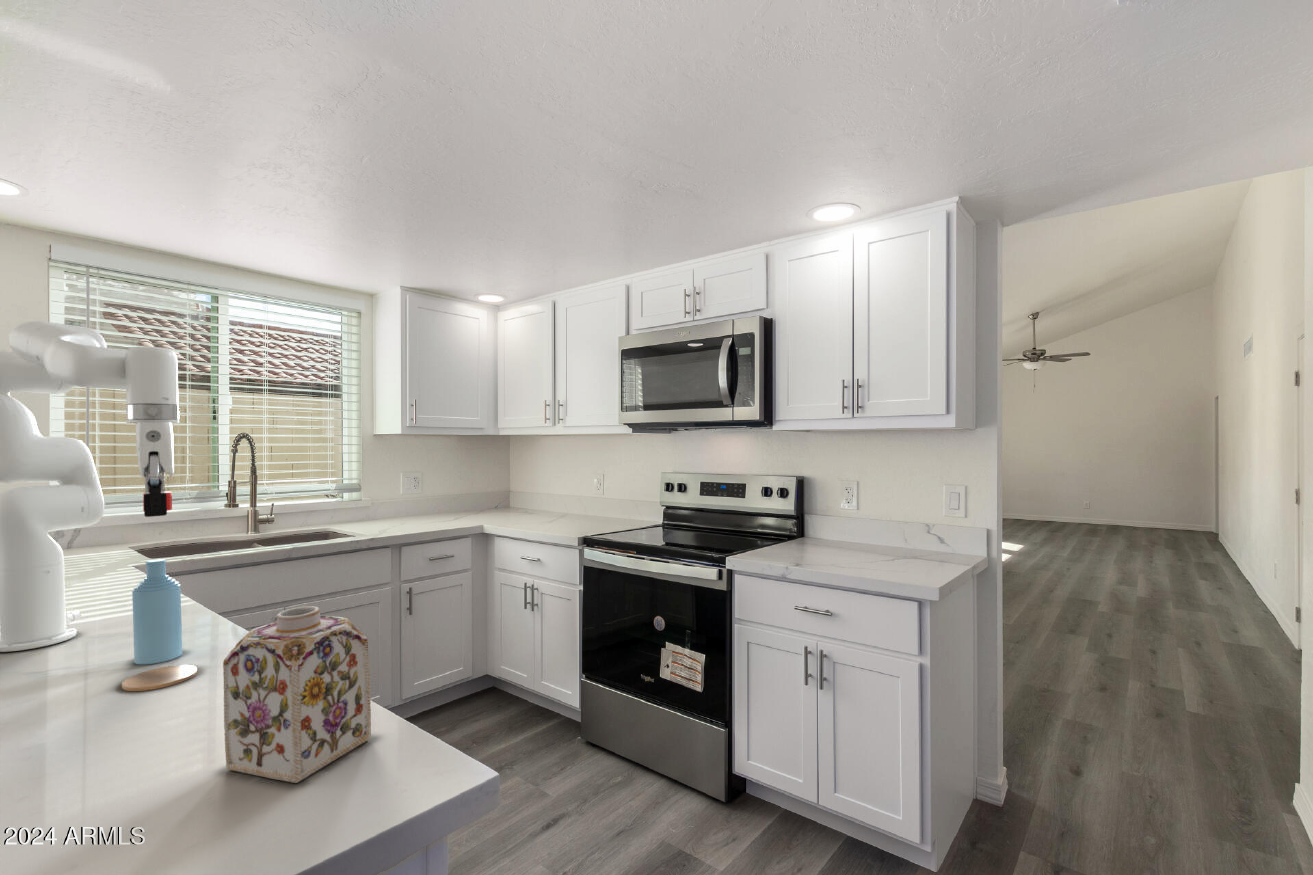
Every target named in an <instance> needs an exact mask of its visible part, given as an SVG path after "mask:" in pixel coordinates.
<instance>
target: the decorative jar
mask: <svg viewBox="0 0 1313 875" xmlns="http://www.w3.org/2000/svg"><path fill="white" fill-rule="evenodd" d="M369 655H370V653H369V640H368V638H367V636H365V635H364V633H363V632H362V631H361V629H358V627H357V626H356V625H355V624H354V623H352V622H351V621H350V620H349V619H348V618H347V617H343V616H334V615H321V612H320V608H319V607H318V606H315V605H306V606H305V605H304V606H298V607H297V606H296V607H293V608H289V609H284V610H282V611H280V612H278V613H277V614H276V621H275V622H271V623H268V624H264V625H260V626H258V627H255V628H253V629H250V630H249V631H248V632H247V633H246V634H245V635H244V636H243V637H242V638H241V639H240V640H239V641H238V642H237V643H236V645H235V646H234V647H233V648H232V649H231V650H230V652H229V653H228V655H226V657H225V658H224V659H223V662H222V664H223V665H222V669H223V670H222V671H223V672H222V673H223V677H222V678H223V730H224V733H223V734H224V753H225V769H226V770H227V771H235V772H239V773H243V774H247V775H253V776H257V777H262V778H266V779H270V780H277V781H283V782H289V783H292V784H297V783H299V782H301V781H303V780H305V779H307V778H308V777H309V776H311V775H313V774H314V773H316V772H318V771H319V770H321V769H323V768H324V767H326V766H328V765H330V764H331V763H333V762H334V761H336V760H337V759H339V758H341V757H343V756H344V755H347V753H349V752H351V751H352V750H355V749H356V748H358V747H359V746H361V745H362V744H364V743H366V742H368V741H369V740H370V738H371V736H372V709H371V707H372V706H371V705H372V701H371V681H370V680H371V679H370V656H369Z"/></svg>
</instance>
